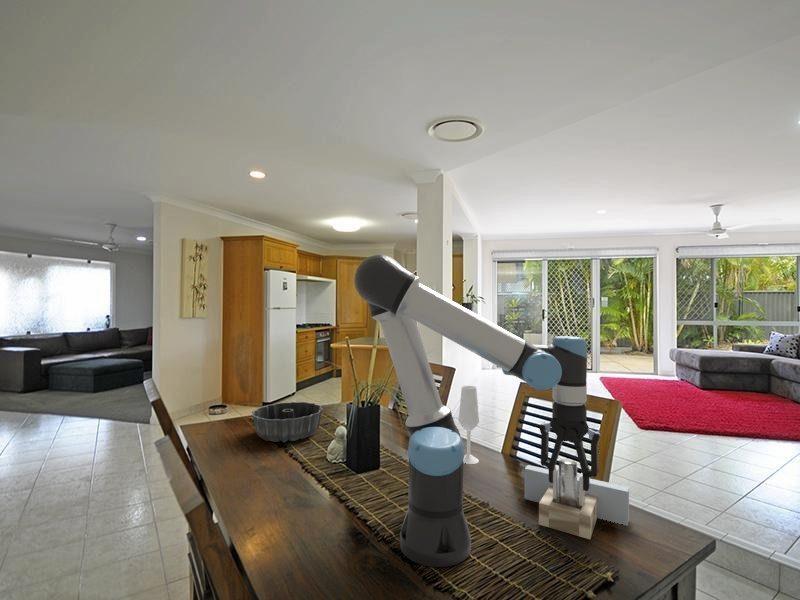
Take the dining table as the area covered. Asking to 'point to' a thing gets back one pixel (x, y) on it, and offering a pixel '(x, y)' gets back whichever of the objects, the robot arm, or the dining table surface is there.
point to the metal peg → (568, 483)
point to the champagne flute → (469, 417)
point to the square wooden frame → (568, 515)
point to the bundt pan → (287, 421)
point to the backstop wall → (608, 494)
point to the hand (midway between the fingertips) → (568, 499)
